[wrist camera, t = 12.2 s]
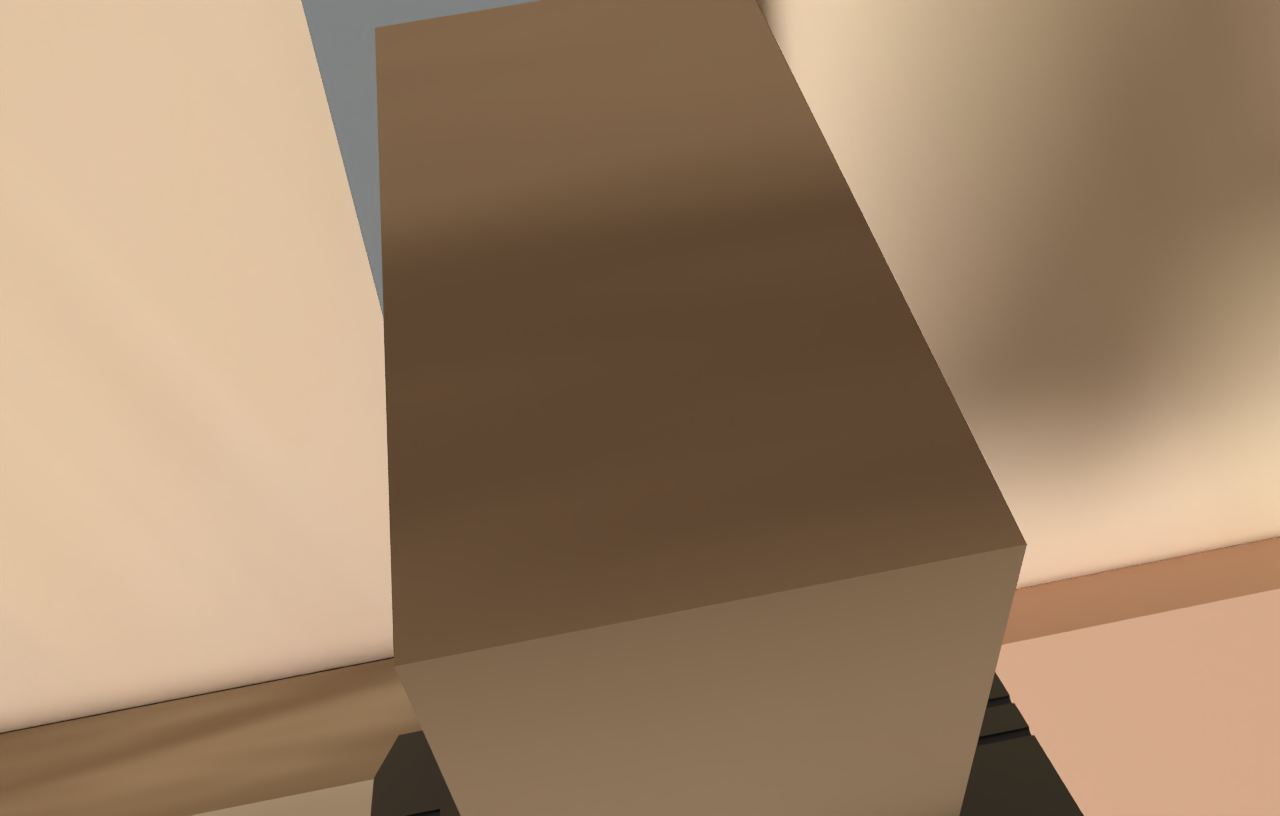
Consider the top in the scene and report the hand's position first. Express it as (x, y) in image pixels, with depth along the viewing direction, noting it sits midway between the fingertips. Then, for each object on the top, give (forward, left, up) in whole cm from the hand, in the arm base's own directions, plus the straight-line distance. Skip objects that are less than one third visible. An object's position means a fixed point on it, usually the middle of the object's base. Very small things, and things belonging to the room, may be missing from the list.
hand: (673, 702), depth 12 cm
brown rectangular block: (-1, 0, -3) cm, 3 cm away
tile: (+9, +10, -11) cm, 17 cm away
